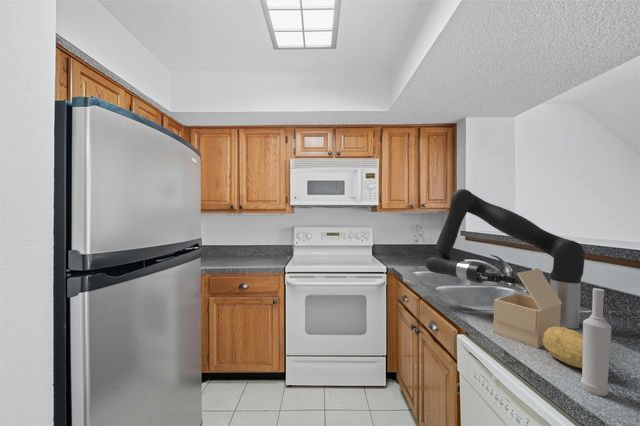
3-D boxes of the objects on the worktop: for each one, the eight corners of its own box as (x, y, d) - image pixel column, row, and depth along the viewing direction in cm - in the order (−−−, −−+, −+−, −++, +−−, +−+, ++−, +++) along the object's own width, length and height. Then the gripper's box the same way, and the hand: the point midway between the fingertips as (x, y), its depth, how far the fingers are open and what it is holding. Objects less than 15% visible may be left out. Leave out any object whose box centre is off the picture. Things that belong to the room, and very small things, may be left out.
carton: (516, 324, 118) (518, 293, 117) (560, 337, 106) (561, 303, 105) (492, 332, 109) (493, 299, 108) (536, 348, 97) (537, 311, 96)
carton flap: (537, 269, 111) (539, 268, 110) (561, 304, 105) (562, 303, 104) (516, 273, 103) (517, 272, 103) (540, 310, 97) (541, 310, 96)
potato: (573, 353, 94) (574, 323, 94) (608, 379, 80) (609, 344, 79) (537, 350, 96) (538, 320, 96) (564, 375, 82) (566, 340, 81)
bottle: (594, 384, 78) (598, 286, 77) (614, 396, 72) (619, 292, 72) (574, 383, 77) (578, 286, 77) (593, 396, 72) (598, 292, 72)
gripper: (461, 263, 121) (506, 272, 107) (480, 261, 128) (525, 268, 113) (460, 282, 122) (505, 293, 107) (480, 279, 128) (524, 288, 114)
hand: (515, 280), depth 110 cm, fingers closed
